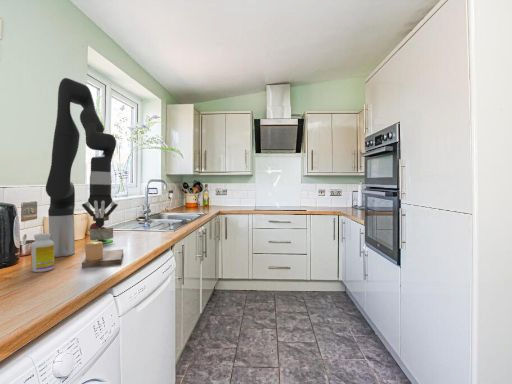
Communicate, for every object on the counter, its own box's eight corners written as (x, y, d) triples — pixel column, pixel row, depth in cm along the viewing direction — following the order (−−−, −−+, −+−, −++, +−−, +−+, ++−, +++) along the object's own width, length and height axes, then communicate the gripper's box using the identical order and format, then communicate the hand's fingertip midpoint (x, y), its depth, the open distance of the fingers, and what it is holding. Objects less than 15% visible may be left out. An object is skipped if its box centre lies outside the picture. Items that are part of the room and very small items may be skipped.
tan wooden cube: (84, 261, 110) (84, 245, 110) (87, 257, 115) (87, 242, 115) (101, 259, 112) (101, 243, 112) (103, 256, 117) (103, 241, 117)
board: (81, 268, 108) (81, 262, 108) (89, 256, 124) (89, 252, 124) (121, 264, 112) (121, 259, 112) (123, 253, 129) (123, 249, 129)
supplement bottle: (59, 268, 108) (58, 233, 107) (40, 273, 102) (39, 236, 101) (45, 266, 110) (44, 232, 110) (27, 271, 104) (26, 235, 103)
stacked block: (84, 242, 154) (83, 214, 153) (109, 239, 162) (109, 212, 162) (90, 246, 145) (89, 215, 145) (117, 242, 154) (116, 213, 153)
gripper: (79, 183, 111) (78, 229, 111) (117, 183, 115) (117, 228, 115) (84, 183, 118) (83, 226, 118) (120, 183, 122) (119, 225, 122)
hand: (100, 227), depth 117 cm, fingers closed
